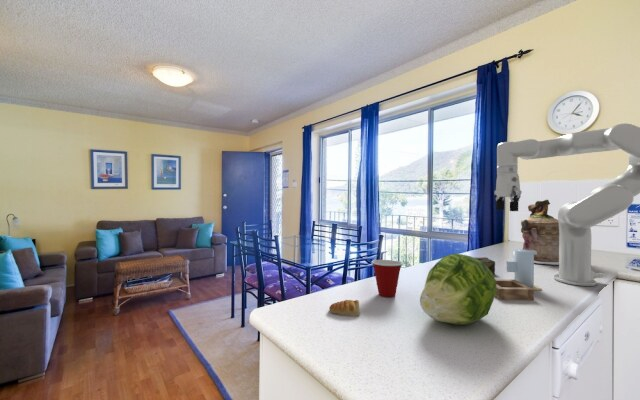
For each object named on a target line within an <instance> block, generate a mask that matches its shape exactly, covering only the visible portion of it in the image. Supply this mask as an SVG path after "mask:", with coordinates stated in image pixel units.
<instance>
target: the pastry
mask: <svg viewBox="0 0 640 400" xmlns="http://www.w3.org/2000/svg"><path fill="white" fill-rule="evenodd" d="M329 312H330V313H331V314H334V315H338V316H341V315H342V316H343V317H345V316H346V317H359V316H360V315H361V307H360V301H359V300H358V299H355V300H353V299H345V300H341V301H337V302H334V303H331V304H330V305H329ZM342 316H341V317H342Z"/></svg>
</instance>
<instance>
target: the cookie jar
mask: <svg viewBox="0 0 640 400" xmlns="http://www.w3.org/2000/svg"><path fill="white" fill-rule="evenodd" d="M549 205H551V202H550V201H549V199H544V200H536V201H535V203H534V204H529V205H527V208H528V211H529V212H530V215H529V216H527V217H526V218H525V219H523V220H521V221H520V226H521V228H520V233H522V239H523V241H524V242H523V243H522V244H523V245H522V249H525V250H534V251H537V255H534V264H539V265H540V264H542V265H543V264H544V265H554V266H559V223H558V218H555V217H554V216H552V215H549V214H548V211H549ZM512 253H513V254H514V251H513V252H512Z"/></svg>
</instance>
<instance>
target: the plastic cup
mask: <svg viewBox="0 0 640 400" xmlns="http://www.w3.org/2000/svg"><path fill="white" fill-rule="evenodd" d="M371 264H372V266H373V271H374V276H375V281H376V286H377V287H376V288H377V291H378V295H379V296H380V297H382V298H394V297H395V296H396V294H397V287H398V285H399V279H400V278H399V277H400V272H401V268H402V266H403V262H402V261H399V260H393V259H374V260H371Z"/></svg>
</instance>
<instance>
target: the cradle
mask: <svg viewBox="0 0 640 400" xmlns="http://www.w3.org/2000/svg"><path fill="white" fill-rule="evenodd" d="M495 280H496V286H497V292H496V294H495V297H494V298H496V299H498V300H512V301H513V300H514V301H515V300H518V301H528V300H529V301H534V300H535V290H534V289H532V288H530V287H528V286H526V285H524V284H522V283H520V282H518V281H516V280H514V279H501V278H499V279H497V278H495Z"/></svg>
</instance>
